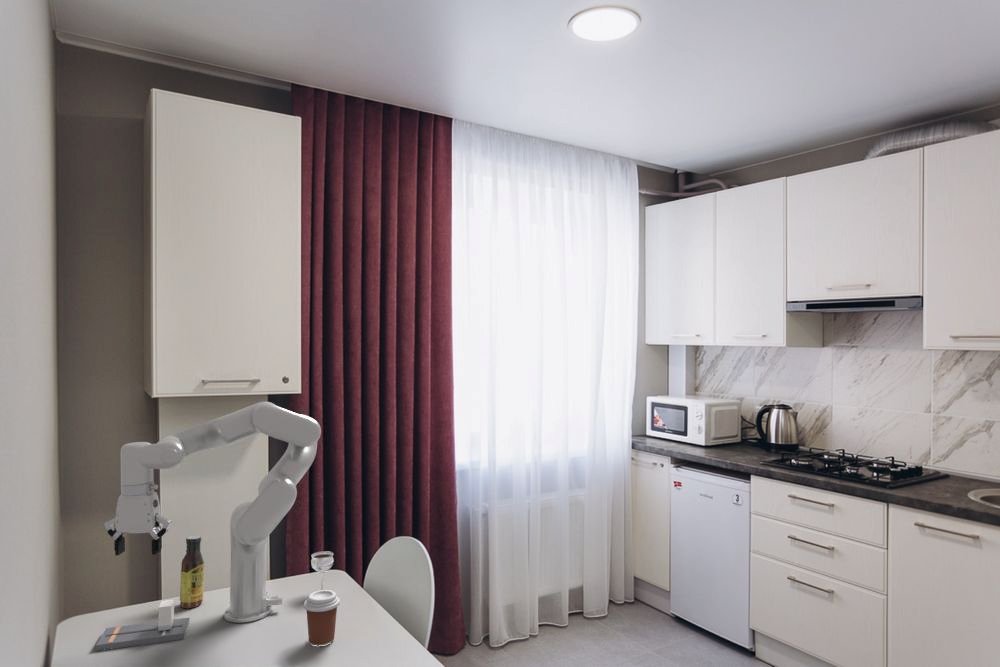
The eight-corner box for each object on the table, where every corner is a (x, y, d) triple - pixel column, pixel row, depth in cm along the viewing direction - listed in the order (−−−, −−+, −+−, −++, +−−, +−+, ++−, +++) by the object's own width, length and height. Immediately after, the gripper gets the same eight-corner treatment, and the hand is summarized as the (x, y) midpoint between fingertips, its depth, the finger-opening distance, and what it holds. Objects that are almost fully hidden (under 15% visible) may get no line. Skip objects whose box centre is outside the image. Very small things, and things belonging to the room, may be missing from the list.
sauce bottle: (193, 610, 180) (194, 541, 180) (174, 608, 181) (175, 540, 181) (208, 601, 186) (209, 534, 186) (190, 599, 187) (191, 533, 188)
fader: (174, 621, 168) (174, 599, 168) (170, 629, 163) (171, 606, 163) (161, 622, 167) (161, 600, 167) (158, 630, 162) (158, 607, 162)
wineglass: (306, 597, 189) (307, 557, 189) (316, 588, 196) (317, 550, 196) (327, 598, 188) (327, 559, 188) (337, 590, 195) (337, 551, 195)
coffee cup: (301, 636, 164) (302, 591, 164) (336, 630, 167) (337, 586, 167) (305, 652, 155) (305, 604, 155) (342, 645, 159) (342, 598, 159)
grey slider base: (189, 622, 172) (189, 617, 172) (184, 639, 162) (184, 632, 162) (106, 633, 165) (106, 627, 165) (95, 651, 155) (95, 644, 155)
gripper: (177, 485, 169) (178, 548, 169) (113, 486, 169) (114, 549, 169) (162, 492, 161) (163, 557, 161) (95, 493, 161) (96, 559, 161)
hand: (138, 553), depth 165 cm, fingers open, 9 cm apart
